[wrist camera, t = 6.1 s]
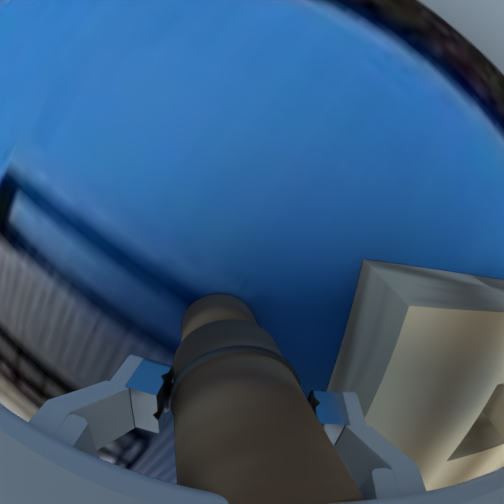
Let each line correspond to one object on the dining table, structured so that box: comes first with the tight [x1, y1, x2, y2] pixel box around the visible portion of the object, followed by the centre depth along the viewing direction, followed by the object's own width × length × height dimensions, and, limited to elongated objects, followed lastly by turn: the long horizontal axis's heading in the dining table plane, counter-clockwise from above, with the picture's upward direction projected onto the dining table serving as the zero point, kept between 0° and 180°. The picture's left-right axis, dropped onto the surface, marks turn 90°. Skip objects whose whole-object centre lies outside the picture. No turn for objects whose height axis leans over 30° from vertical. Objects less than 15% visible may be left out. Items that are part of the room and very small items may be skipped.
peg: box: [170, 294, 365, 504], centre depth 9 cm, size 4×4×10 cm
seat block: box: [327, 259, 504, 491], centre depth 12 cm, size 18×12×5 cm, turn 83°
